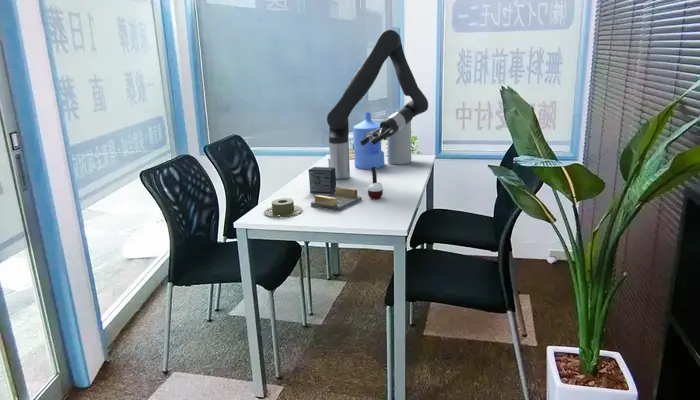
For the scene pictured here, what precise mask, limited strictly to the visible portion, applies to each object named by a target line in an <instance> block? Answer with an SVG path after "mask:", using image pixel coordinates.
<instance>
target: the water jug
mask: <svg viewBox="0 0 700 400" xmlns="http://www.w3.org/2000/svg"><path fill="white" fill-rule="evenodd" d="M371 113H372V112H371V111H365V112H364V120H362V121H361V122H359V123H357V124H356V125H354V126H353V129H352V132H353V133H352V134H353V151H354V154H353V155H354V166H355V168H357V169H360V170H372V167H376V169H380V168H383V167H384V166H385V152H384V151H383V150H382V141H383V140H380V141H379V142H378V143H376V144H375V145H373V144H372V142H371V141H369V142H368V143H366V144H365V145H363V146H362V145H361V143H360V141H361V140H363V139H364V138H365V137H364V136H365V135H367V134H368V133H370V132H371V131H373V130H376V129H378V128H379V129H380V123H379V122H376V121H374V120H372V114H371ZM369 138H370V137H369ZM374 138H375V136H374Z"/></svg>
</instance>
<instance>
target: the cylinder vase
mask: <svg viewBox="0 0 700 400" xmlns="http://www.w3.org/2000/svg"><path fill="white" fill-rule="evenodd" d="M392 114H393V113H392ZM392 114H391V113H389V114H387V115H386V118H388V117H389V116H391V115H392ZM386 141H387V142H386V144H387V145H386V147H387V163H388V164H390V165H398V166H399V165H409V164H410V163H412V120H411V121H410V122H409V123H408V124H406V125H405V126H404V127H403V128H402V129H400V130H399V131H398V132H396V133H395V134H394V135H392V136H391V137H388V138H387V139H386Z"/></svg>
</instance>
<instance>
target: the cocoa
mask: <svg viewBox="0 0 700 400" xmlns="http://www.w3.org/2000/svg"><path fill="white" fill-rule="evenodd" d="M371 174H372V175H371V177H372V183H371V184H370V185H369V186H368V187H367V194H368V197H369V198H370V199H373V200H378V199H381V198H382V196H383V192H384V189H383V184H382V183H381V182H380V181H379V182H377V181H378V178H377V168H376V167H372V169H371Z"/></svg>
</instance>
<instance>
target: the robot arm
mask: <svg viewBox="0 0 700 400" xmlns="http://www.w3.org/2000/svg"><path fill="white" fill-rule="evenodd" d="M388 57H389V58H390V60H391V62H392V64H393V68H394V70H395V74H396V77H397V80H398V83H399V85H400V88H401V90H402V93H403V94H404V96H406V97H410V99H411V100H410V101H408V102H407V103H406V104H405V105H404V106H403V107H401V108H400V109H398V110H397V111H396V112H394V113H392V115H391V116H389V117H388V118H387V117H386V118H385V119H383V121H381V122H380V123H379V124H380V129H379V128H378V129H376V130H373V131H371V132H370V133H368V134H367V135H365V136H364V137H365V138H364V139H363V140H361V141H360V143H361V145H362V146H363V145H365V144H366V143H368V142H369V141H371V142H372V144H373V145H375V144H376V143H378V142H379V141H380V140H382V141H383V140H387V138H388V137H391V136H392V135H394V134H395V133H396V132H398V131H399V130H400V129H402V128H403V127H404V126H405V125H406V124H408V123H409V122H410V121H411V122H412V120H413V118H415V117H416V116H418V115H421V114H423V113H425V112H426V111H428V110H429V109H428V108H429V101H428V99H427V97H426V95H425V94H424V93H423V92H422V90H421V89H420V87H419V86H418V83H417V81H416V78H415V77H414V73H413V72H412V70H411V68H410V66H409V63H408V61H407V58H406V56H405V52H404V47H403V44H402V37H401V36H400V34H399V33H398V32H397V31H396V30H393V29H386V30H384V31H382V32H381V34H380V35H379V36H378V38H377V41H376V43H375V45H374V46H373V48H372V50H371V52H370V53H369V55H368V56H367V57H366V58H365V60H364V61H363V63H362V64H361V65H360V66H359V68H358V69H357V70H356V72H355V73H354V75H353V76H352V78H351V79H350V81H349V83H348V85H347V87H346V88H345V90H344V92H343V94H342V96H341V97H340V99H339V100H338V101H337V103H336V104H335V105H334V106H333V108H332V109H331V110H330V111H328V113H327V116H326V122H327V124H328V126H329V134H328V135H329V136H328V145H329V146H328V147H329V157H328V158H327V159H328V160H327V161H328V162H327V163H328V167H333V168H335V173H336V180H345V179H349V178H350V177H351V173H350V172H351V171H350V150H349V149H350V148H349V147H350V146H349V145H350V144H349V133H350V132H349V127H350V126H349V116H351V113H352V112H353V109H354V108H355V106H357V104H358V103H360V101H361V100H362V99H363V98H364V96H366V94H367V93H368V92H369V90H370V89H371V88H372V86H373V85H374V83H375V82H376V79H377V77H378V76H379V73H380V71H381V69H382V67H383V65H384V63H385V61H386V60H387V59H388ZM374 136H375V138H374ZM369 137H370V138H369Z"/></svg>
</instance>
